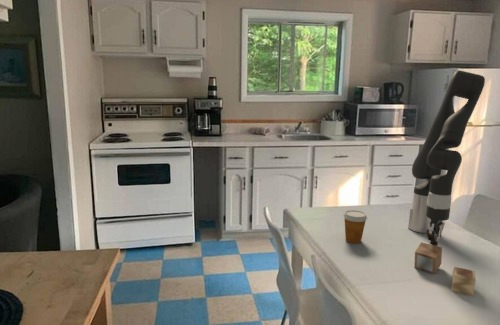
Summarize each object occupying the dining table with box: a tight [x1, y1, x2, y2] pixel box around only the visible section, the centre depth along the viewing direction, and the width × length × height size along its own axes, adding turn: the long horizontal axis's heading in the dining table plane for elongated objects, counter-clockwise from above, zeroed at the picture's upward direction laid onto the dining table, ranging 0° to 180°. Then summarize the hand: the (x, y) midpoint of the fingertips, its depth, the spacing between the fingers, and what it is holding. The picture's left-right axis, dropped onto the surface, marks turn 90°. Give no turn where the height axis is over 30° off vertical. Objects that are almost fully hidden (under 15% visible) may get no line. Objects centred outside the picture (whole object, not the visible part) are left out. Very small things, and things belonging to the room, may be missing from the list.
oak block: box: [451, 266, 477, 297], centre depth 120 cm, size 6×6×6 cm
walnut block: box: [413, 241, 443, 275], centre depth 133 cm, size 7×7×7 cm
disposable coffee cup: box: [343, 209, 368, 244], centre depth 157 cm, size 10×10×12 cm
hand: (433, 250), depth 137 cm, fingers closed
